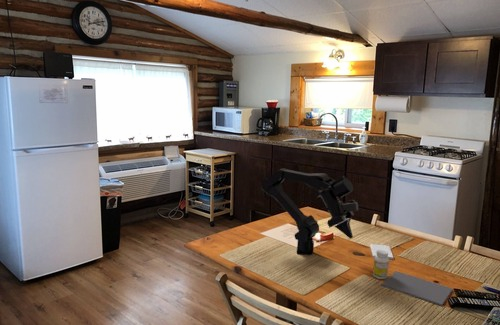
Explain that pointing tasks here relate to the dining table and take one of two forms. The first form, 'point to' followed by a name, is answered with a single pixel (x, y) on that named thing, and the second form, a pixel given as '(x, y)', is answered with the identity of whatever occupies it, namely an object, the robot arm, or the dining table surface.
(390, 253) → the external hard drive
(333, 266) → the dining table surface
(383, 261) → the supplement bottle
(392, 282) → the mat
